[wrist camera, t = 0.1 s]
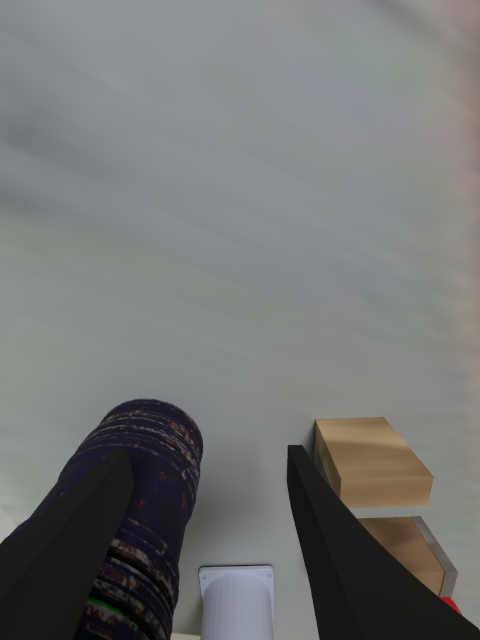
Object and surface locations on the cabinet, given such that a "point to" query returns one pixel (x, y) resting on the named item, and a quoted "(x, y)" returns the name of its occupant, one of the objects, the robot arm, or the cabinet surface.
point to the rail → (415, 550)
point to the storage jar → (138, 518)
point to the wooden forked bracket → (369, 464)
